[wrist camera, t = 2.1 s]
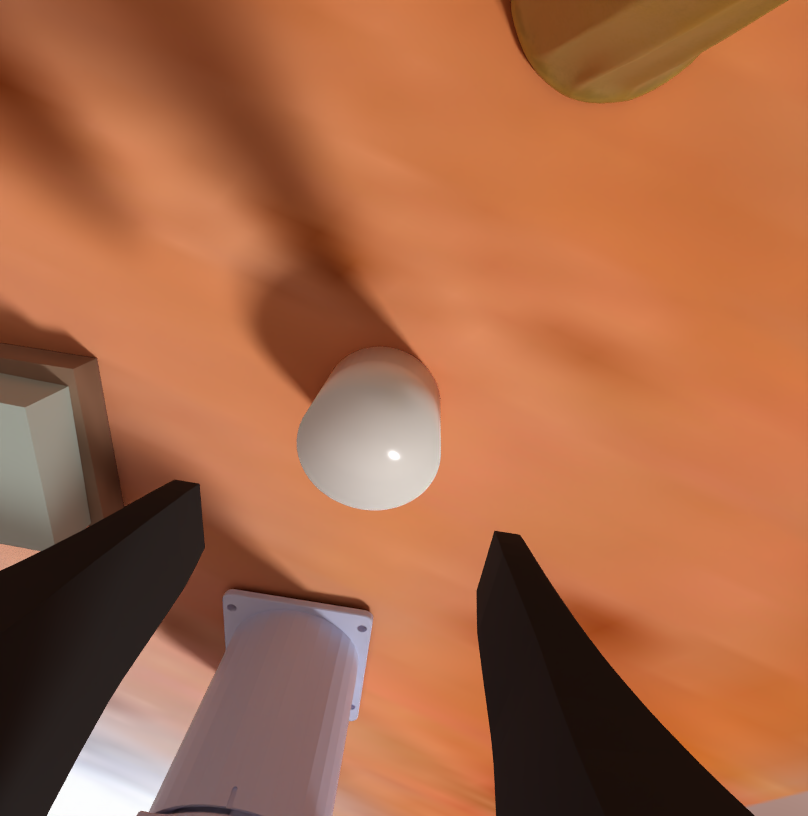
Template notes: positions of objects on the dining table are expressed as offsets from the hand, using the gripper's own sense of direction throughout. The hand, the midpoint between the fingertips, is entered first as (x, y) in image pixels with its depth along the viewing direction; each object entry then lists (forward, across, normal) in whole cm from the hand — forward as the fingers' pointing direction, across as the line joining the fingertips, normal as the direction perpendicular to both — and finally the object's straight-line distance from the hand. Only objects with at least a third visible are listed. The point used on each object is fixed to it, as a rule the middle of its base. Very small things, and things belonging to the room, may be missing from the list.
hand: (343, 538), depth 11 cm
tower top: (+7, +16, +4) cm, 18 cm away
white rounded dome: (+8, 0, 0) cm, 8 cm away
